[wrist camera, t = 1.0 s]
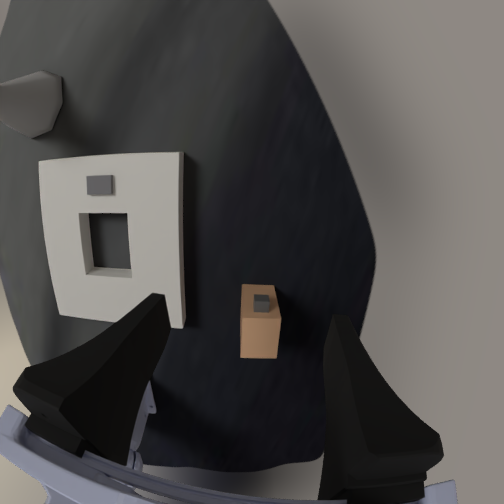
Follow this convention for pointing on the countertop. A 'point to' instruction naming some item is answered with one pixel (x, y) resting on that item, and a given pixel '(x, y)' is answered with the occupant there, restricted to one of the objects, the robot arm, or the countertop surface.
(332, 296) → the countertop surface
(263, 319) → the plug
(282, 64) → the countertop surface
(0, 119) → the flask
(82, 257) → the socket
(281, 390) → the countertop surface
